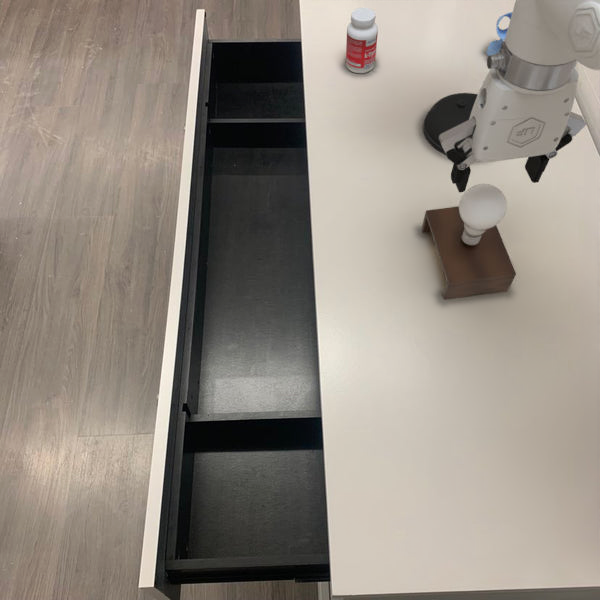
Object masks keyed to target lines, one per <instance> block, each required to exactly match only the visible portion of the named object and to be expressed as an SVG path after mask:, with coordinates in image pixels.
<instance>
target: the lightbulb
mask: <svg viewBox="0 0 600 600" xmlns="http://www.w3.org/2000/svg"><path fill="white" fill-rule="evenodd" d="M458 206H459V214H460V217H461V219H462V220H463V222H464V232H463V235H462V241H463V242H464V243H465V244H467V245H471V246H473V245H476V244H478V243H479V241H480V239H481V236H482V234H483V233H484V232H485V231H486V230H487V229H490V228H492V227H494V226H497V225H498V224H499V223H500V222H501V221H502V220H503V218H504V217H505V215H506V212H507V208H508V204H507V198H506V196H505V194H504V193H503V191H502V190H501V189H500V188H499V187H497V186H495V185H493V184H490V183H478V184H474V185H473V186H470V187H469V188H468V189H466V190H465V191H464V192H463V194H462V196H461V198H460V199H459V203H458Z"/></svg>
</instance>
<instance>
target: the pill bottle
mask: <svg viewBox="0 0 600 600" xmlns="http://www.w3.org/2000/svg"><path fill="white" fill-rule="evenodd" d="M378 33H379V27H378V25H377V23H376V12H375V11H374V10H373V9H371V8H368V7H358V8H356V9H354V10H352V11H351V15H350V23H349V24H348V25H347V27H346V45H345V67H346V68H347V70H349V71H350V72H352V73H354V74H366V73H368V72H370V71H373V69H374V67H375V65H376V56H377V46H378V45H377V44H378V36H379V35H378Z"/></svg>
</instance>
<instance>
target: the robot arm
mask: <svg viewBox="0 0 600 600" xmlns="http://www.w3.org/2000/svg"><path fill="white" fill-rule="evenodd" d="M511 12H512V16H511V19H510V18H509V24H508V26H507V28H508V30H507V33H506V37H505V40H504V42H502V45H501V48H500V51H499V52H498V53H496V54H495V55H489V56H488V55H487V59H486V66H487V67H486V68H487V69H488V70H489V71H488V73H487V75H486V76H485V78H484V80H483V82H482V84H481V86H480V89H479V91H478V93H477V94H478V95H477V98H476V100H475V103H474V106H473V108H472V111H471V114H470V118H469V120H467V121H465V122H463V123H461V124H459V125H457V126H456V127H454V128H452V129H450V130H448V131H446V132H444V133H442V134H440V135H439V140H440V142H441V145H442V147H443V149H444V151H445V153H446V154H445V156H446V158H447V159H448V160H449V161H451V162H452V163H453V164H452V168H451V173H450V180H451V183H452V184H455V186H456V188H457V191H458V193H460V194H461V193H465V192H466V190H467V185H468V183H469V179H470V175H471V172H472V170H471V165H472V164H473V163H475V162H476V161H477V162H482V163H493V162H500V161H508V160H516V159H517V160H518V159H523V158H525V159H526V158H527V160H526V162H525V164H524V169H525V172H526V173H527V175H528V177H529V180H530V181H531V183H534V184H535V183H539V182H540V179H541V178H542V176H543V173H544V172H545V171H546V168H547V167H548V164H549V161H550V160H551V159H554V158H555V157H557V155H558V152H559V150H561V149H562V148H564V147H565V146H567V145H569V144H570V143H571V142H572V141H573V137H576V135H578V134H579V133H580V132H581V131H582V130H583V129H584V128H585V127H586V126H587V122H586V121H585V118H584V117H583V115H581V114H578V113H575V112H573V111H572V109H573V107H574V103H575V99H576V93H577V88H578V84H579V83H578V82H579V72H578V71H577V69H576V68H577V65H578V63H579V64H581V65H582V66H584V67H585V68H588V69H590V70H594V71H600V0H515V2H514V6H513V8H512V11H511ZM464 138H467V139H465V140H464V141H463V142H462V143H461V144H460V145H458V146H455V145H454V144H455V143H456V142H458V141H460V140H462V139H464ZM470 148H472V151H471V152H470V153H469V154H468V155H466V154H465V152H466V151H468V150H469V149H470Z"/></svg>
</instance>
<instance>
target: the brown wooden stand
mask: <svg viewBox="0 0 600 600" xmlns="http://www.w3.org/2000/svg"><path fill="white" fill-rule="evenodd" d="M421 225H422V226H421V232H422V234H423V233H424V234H425V233H431V236H432V240H433V242H434V246H435V248H436V252H437V254H438V257H439V261H440V264H441V267H442V270H443V273H444V276H445V279H446V283H445V287H444V289H443V292H442V295H441V297H442V300H445V301H446V300H453V299H461V298H467V297H475V296H482V295H491V294H498V293H505V292H508V290H509V289H510V287H511V285H512V283H513V281H514V280H515V277H516V276H517V272H516V270H515V267H514V265H513V262H512V259H511V258H510V256H509V253H508V250H507V248H506V244H504V241H503V238H502V236H501V233H500V231H499V228H498V226H497V225H496V226H494V227H492V228H490V229H487V230H486V231H485V232H484V233H483V234H482V236H481V239H480V241H479V243H478V244H476V245H473V246H471V245H467V244H465V243H464V242H463V241H462V235H463V232H464V222H463V220H462V219H461V217H460V214H459V205H458V206H450V207H442V208H433V209H427V210H425V213H424V217H423V222H422V224H421Z"/></svg>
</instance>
